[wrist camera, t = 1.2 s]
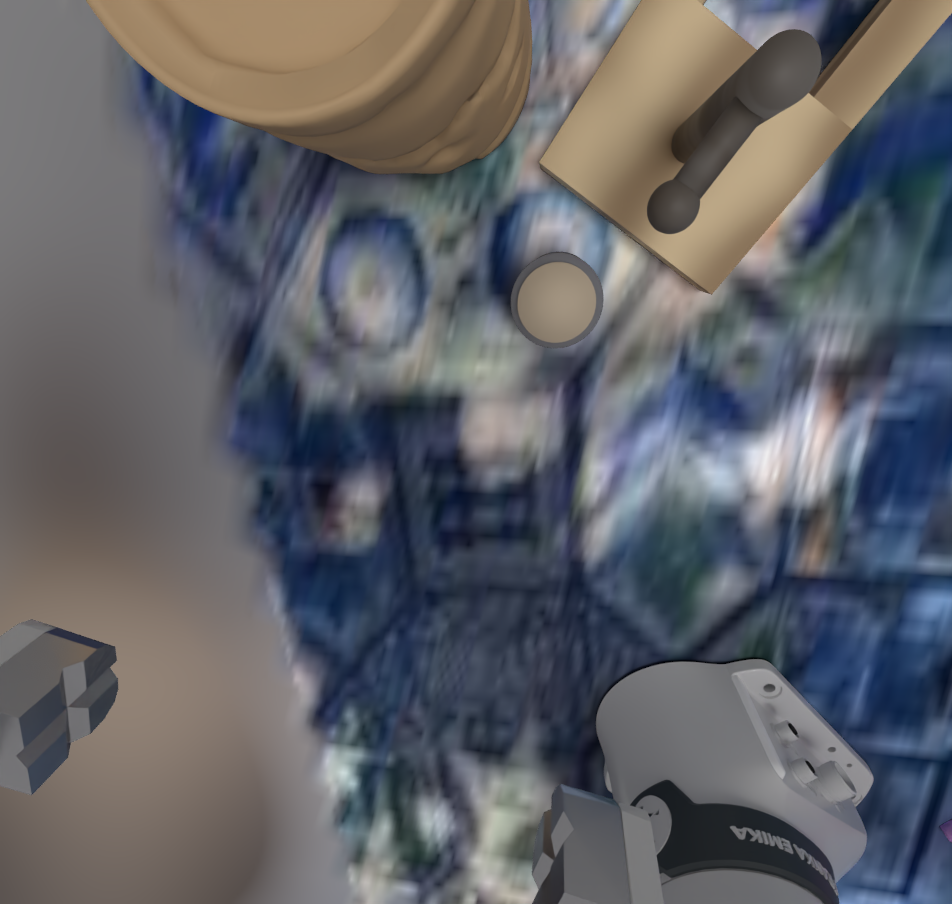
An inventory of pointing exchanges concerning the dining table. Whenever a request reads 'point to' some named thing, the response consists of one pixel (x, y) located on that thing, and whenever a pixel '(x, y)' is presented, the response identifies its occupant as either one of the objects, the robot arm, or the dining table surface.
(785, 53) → the wooden hook stand
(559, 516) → the dining table surface
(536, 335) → the grey cylinder peg
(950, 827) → the purple table lamp
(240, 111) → the container
